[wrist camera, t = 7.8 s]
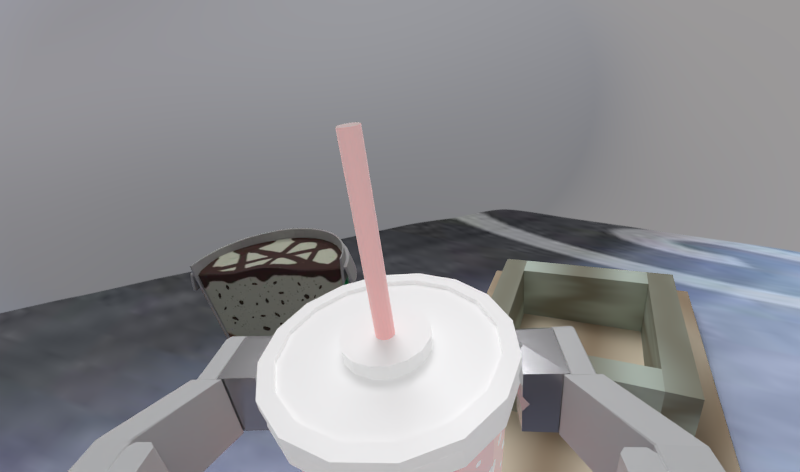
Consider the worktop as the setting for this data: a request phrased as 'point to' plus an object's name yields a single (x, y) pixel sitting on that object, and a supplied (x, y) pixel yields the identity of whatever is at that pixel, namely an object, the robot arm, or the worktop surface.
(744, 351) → the worktop surface
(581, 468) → the collar stand
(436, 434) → the beverage cup
